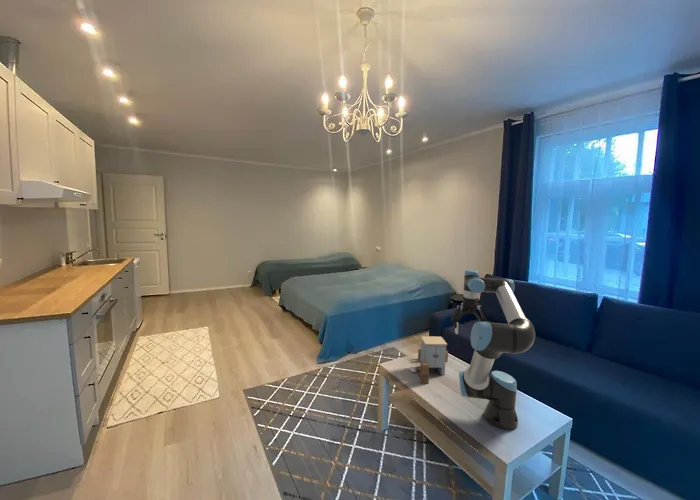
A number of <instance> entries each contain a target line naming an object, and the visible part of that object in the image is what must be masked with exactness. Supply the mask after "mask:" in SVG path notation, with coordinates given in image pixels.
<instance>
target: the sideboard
mask: <svg viewBox="0 0 700 500" xmlns="http://www.w3.org/2000/svg"><path fill="white" fill-rule="evenodd" d="M420 339H421V345H420V349H421V361H419V362H420V365H419V366H421V362H428V363H429V369H437V370H438V372H439V373H440V375H441V376H445V374H446V372H445V371H446V362H445V359H446V350H447V346H448V343H447V342H446V340H445V339H444V338H443V337H442V336H434V335H433V336H432V335H431V336H430V335H429V336H426V335H425V336H423V335H422V336H420Z"/></svg>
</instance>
